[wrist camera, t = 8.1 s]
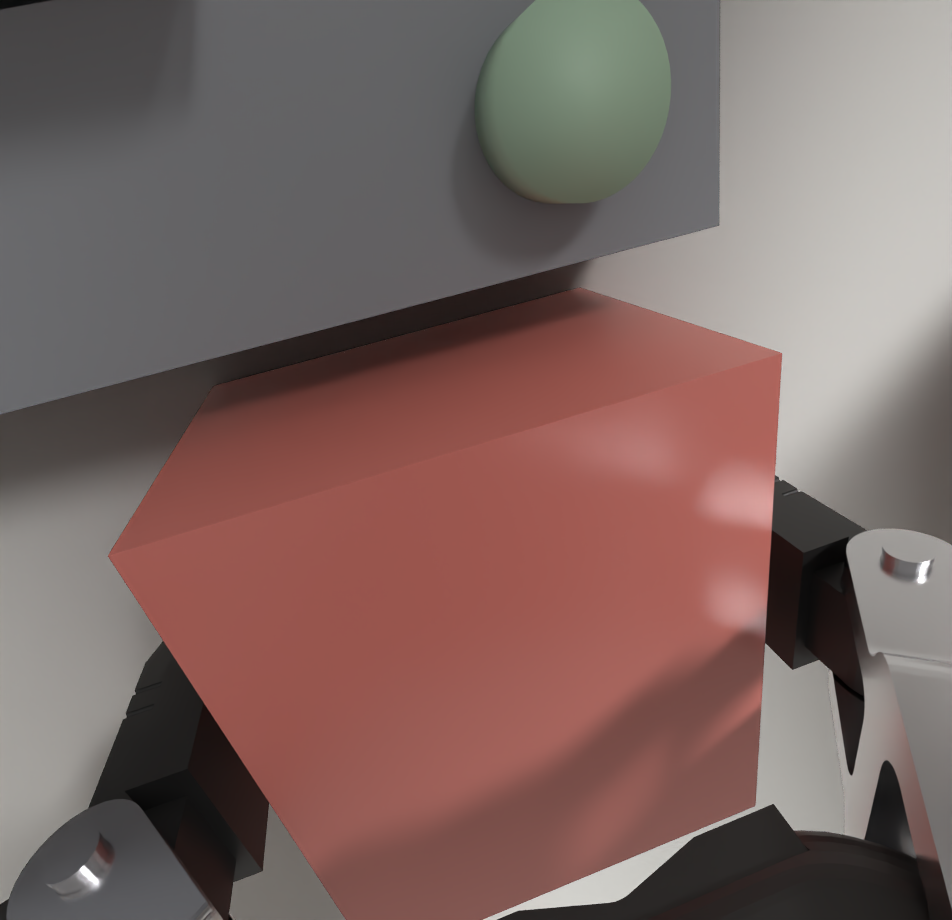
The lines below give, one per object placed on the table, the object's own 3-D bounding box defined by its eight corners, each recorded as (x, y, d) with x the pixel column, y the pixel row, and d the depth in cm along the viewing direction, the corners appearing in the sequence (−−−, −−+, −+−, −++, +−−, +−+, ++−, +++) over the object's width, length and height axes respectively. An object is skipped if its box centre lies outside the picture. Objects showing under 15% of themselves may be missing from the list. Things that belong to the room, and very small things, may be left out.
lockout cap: (579, 287, 10) (781, 352, 6) (616, 611, 14) (755, 805, 9) (213, 386, 9) (108, 556, 5) (358, 702, 13) (375, 964, 8)
